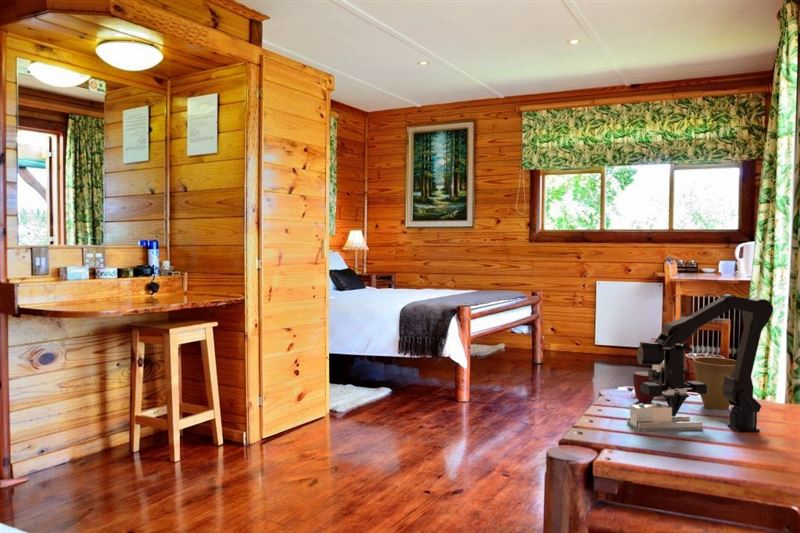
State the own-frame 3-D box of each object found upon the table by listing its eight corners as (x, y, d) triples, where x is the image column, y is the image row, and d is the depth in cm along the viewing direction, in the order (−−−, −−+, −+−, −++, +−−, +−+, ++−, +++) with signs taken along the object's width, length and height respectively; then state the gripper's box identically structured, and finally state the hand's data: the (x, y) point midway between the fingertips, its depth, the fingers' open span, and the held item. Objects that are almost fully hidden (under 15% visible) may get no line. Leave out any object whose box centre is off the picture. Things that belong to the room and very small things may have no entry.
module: (663, 422, 193) (664, 402, 193) (671, 425, 189) (671, 405, 189) (645, 422, 192) (646, 402, 192) (652, 426, 188) (653, 405, 188)
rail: (687, 422, 196) (688, 400, 196) (702, 429, 188) (703, 406, 188) (626, 423, 193) (627, 401, 193) (639, 431, 186) (640, 407, 186)
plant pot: (686, 401, 224) (687, 356, 224) (730, 403, 222) (732, 357, 222) (700, 411, 209) (701, 363, 209) (748, 414, 207) (749, 365, 207)
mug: (666, 402, 222) (667, 373, 222) (663, 407, 215) (664, 377, 215) (634, 398, 227) (635, 370, 227) (630, 402, 220) (631, 374, 220)
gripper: (687, 359, 200) (686, 408, 200) (631, 360, 197) (631, 410, 198) (709, 366, 189) (708, 418, 189) (650, 367, 186) (649, 420, 187)
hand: (673, 416), depth 191 cm, fingers closed
